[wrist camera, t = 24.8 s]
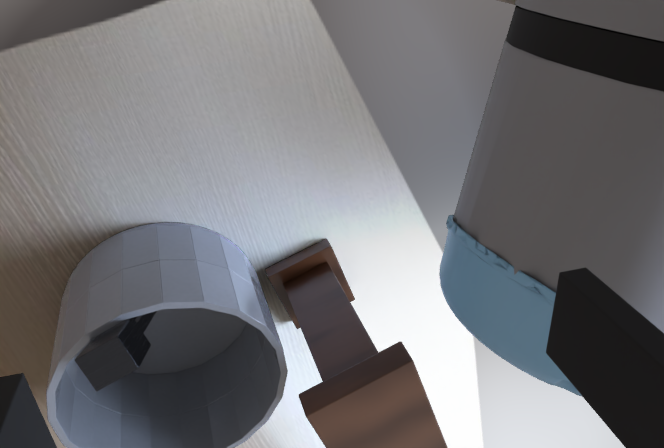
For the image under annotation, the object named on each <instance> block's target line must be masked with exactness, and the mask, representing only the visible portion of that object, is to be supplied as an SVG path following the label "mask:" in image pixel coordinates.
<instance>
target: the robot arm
mask: <svg viewBox="0 0 664 448" xmlns="http://www.w3.org/2000/svg"><path fill="white" fill-rule="evenodd" d="M515 5H517V6H516V7H515V11H514V15H513V18H512V21H511V24H510V28H509V31H508V34H507V38H506V40H505V42H504V46H503V49H502V53H501V56H500V60H499V63H498V66H497V70H496V74H495V77H494V80H493V84H492V87H491V90H490V94H489V97H488V101H487V104H486V107H485V111H484V114H483V118H482V121H481V125H480V128H479V132H478V135H477V139H476V142H475V145H474V149H473V152H472V156H471V159H470V162H469V166H468V169H467V173H466V176H465V180H464V183H463V186H462V190H461V193H460V197H459V200H458V204H457V207H456V210H455V214H454V215H449V217H448V220H447V223H446V224H447V228H448V235H447V240H446V244H445V248H444V253H443V257H442V261H441V265H440V284H441V288H442V291H443V295H444V297H445V299H446V301H447V303H448V305H449V307H450V308H451V310H452V311H453V313H454V314H455V316H456V317H457V318H458V319H459V321H460V322H461V323H462V324H463V325H464V326H465V327H466V328H467V329H468V330H469V331H470V332H471V333H472V335H474V336H475V337H476V338H477V339H478V340H479V341H480V342H481V343H483V344H484V345H485V346H486V347H488V348H489V349H490V350H492V351H493V352H494V353H496V354H497V355H498V356H500V357H501V358H503V359H504V360H506V361H507V362H509V363H510V364H512V365H514V366H515V367H517V368H519V369H520V370H522V371H524V372H526V373H528V374H530V375H531V376H533V377H536V378H537V379H539V380H541V381H544V382H546V383H548V384H551V385H555V386H558V387H561V388H564V389H566V390H568V391H570V392H572V393H575V394H576V395H579V396H582V397H584V399H585V400H586V401H587V402H588V403H589V405H590V406H591V407H592V408H593V409H594V410H595V412H596V413H597V414H598V415H599V416H600V418H601V419H602V420H603V421H604V422H605V423H606V424H607V426H608V427H609V428H610V429H611V431H612V432H613V433H614V434H615V435H616V437H617V438H618V439H619V440H620V441H621V442H622V444H623V445H624V446H625V447H626V448H664V0H516V2H515ZM0 448H57V447H56V445H55V443H54V440H53V438H52V436H51V434H50V432H49V429H48V427H47V425H46V423H45V420H44V418H43V416H42V414H41V412H40V409H39V407H38V405H37V403H36V401H35V398H34V396H33V394H32V392H31V389H30V387H29V385H28V383H27V381H26V378H25V376H24V374H23V373H21V374H15V375H10V376H5V377H0Z"/></svg>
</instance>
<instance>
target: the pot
mask: <svg viewBox="0 0 664 448" xmlns="http://www.w3.org/2000/svg"><path fill="white" fill-rule="evenodd" d="M155 311H157V312H156V314H155V315H154V317H153V318H152V320H151V322H150V323H149V325H148V327H147V328H146V330H145V332H144V335H145V336H146V338H147V339H148V341H149V342H150V344H151V346H150V348H149V350H148V352H147V354H146V356H145V357H144V359H143V361H142V363H141V365H140V367H139V368H138V369H136V370H134V371H133V372H131V373H129V374H127V375H125V376H124V377H122V378H120V379H118V380H117V381H115V382H113V383H111V384H109V385H108V386H106V387H104V388H102V389H100V390H99V391H96V390H95V389H94V387H93V386H92V385H91V383H90V382H89V380H88V379H87V377H86V376H85V375H84V373H83V372H82V370H81V369H80V367H79V366H78V365H77V363H76V362H75V359H76V358H77V356H78V355H79V354H80V353H81V352H82V351H83V349H84V348H85V347H86V346H87V345H88V343H89V342H90V341H91V340H92V339H93V338H94V337H96V336H98V335H99V334H101V333H103V332H105V331H106V330H108V329H110V328H112V327H113V326H115V325H117V324H119V323H120V322H122V321H124V320H126V319H130V318H133V317H137V316H141V315H144V314H148V313H151V312H155ZM287 372H288V371H287V366H286V361H285V357H284V352H283V347H282V345H281V342H280V339H279V336H278V333H277V330H276V327H275V325H274V322H273V319H272V316H271V313H270V310H269V307H268V305H267V302H266V299H265V296H264V293H263V290H262V287H261V285H260V282H259V279H258V276H257V273H256V271H255V269H254V268H253V266H252V264H251V262H250V260H249V259H248V258H247V256H246V255H245V254H244V252H243V251H242V250H241V249H240V248H239V247H238V246H237V245H235V244H234V243H233V242H232V241H230V240H229V239H228V238H226V237H224V236H222V235H220V234H219V233H217V232H214V231H212V230H209V229H207V228H203V227H200V226H196V225H191V224H184V223H154V224H148V225H143V226H138V227H135V228H132V229H128V230H125V231H123V232H121V233H118V234H116V235H114V236H112V237H110V238H108V239H107V240H105V241H103V242H101V243H100V244H99V245H97V246H96V247H95V248H93V249H92V250H91V251H90V252H89V253H88V254H87V255H86V256H85V257H84V258H83V259H82V260H81V261H80V262H79V264H78V265H77V266H76V268H75V269H74V270H73V272H72V274H71V276H70V278H69V280H68V282H67V285H66V288H65V292H64V294H63V297H62V301H61V307H60V313H59V319H58V324H57V330H56V336H55V342H54V348H53V354H52V360H51V366H50V372H49V378H48V384H47V389H46V399H47V418H48V421H49V423H50V425H51V426H52V428H53V430H54V431H55V433H56V435H57V436H58V438H59V440H60V441H61V443H62V444H63V445H64V446H65V447H67V448H235V447H237V446H238V445H240V444H242V443H243V442H245V441H246V440H248V439H249V438H250V437H251V436H252V435H253V434H254V433H255V432H256V431H257V430H258V429H259V428H260V427H261V426H263V425H264V424H265V423H266V422H267V421H268V419H269V418H270V416H271V415H272V413H273V411H274V410H275V408H276V406H277V405H278V403H279V402H280V400H281V398H282V396H283V391H284V387H285V382H286V377H287Z"/></svg>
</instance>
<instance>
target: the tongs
mask: <svg viewBox="0 0 664 448" xmlns="http://www.w3.org/2000/svg"><path fill="white" fill-rule="evenodd" d="M156 312H157V311H155V312H151V313H148V314H144V315H141V316H137V317H133V318H130V319H126V320H124V321H122V322H120V323H119V324H117V325H115V326H113V327H112V328H110V329H108V330H106V331H105V332H103V333H101V334H99V335H98V336H96V337H94V338H93V339H92V340H91V341H90V342H89V343H88V345H87V346H86V347H85V348H84V349H83V351H82V352H81V353H80V354H79V355H78V356H77V358H76V359H75V362H76V363H77V365H78V366H79V367H80V369H81V370H82V372H83V373H84V375H85V376H86V377H87V379H88V380H89V382H90V383H91V385H92V386H93V387H94V389H95V390H96V391H99V390H100V389H102V388H104V387H106V386H108V385H109V384H111V383H113V382H115V381H117V380H118V379H120V378H122V377H124V376H125V375H127V374H129V373H131V372H133V371H134V370H136V369H138V368H139V367H140V365H141V363H142V361H143V359H144V357H145V356H146V354H147V352H148V350H149V348H150V346H151V344H150V342H149V341H148V339H147V338H146V336H145V335H144V332H145V330H146V328H147V327H148V325H149V323H150V322H151V320H152V318H153V317H154V315H155V314H156Z"/></svg>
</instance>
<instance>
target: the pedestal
mask: <svg viewBox="0 0 664 448" xmlns="http://www.w3.org/2000/svg"><path fill="white" fill-rule="evenodd" d="M265 271H266V274H267V277H268V279H269V280H270V282H271V284H272V286H273V288H274V289H275V291H276V293H277V295H278V296H279V298H280V300H281V302H282V303H283V305H284V307H285V309H286V311H287V312H288V314H289V316H290V318H291V319H292V321H293V323H294V325H295V326H296V328H297V329H299V328H301V329H302V332H303V334H304V337H305V339H306V342H307V344H308V346H309V349H310V351H311V354H312V356H313V359H314V361H315V364H316V366H317V368H318V371H319V373H320V376H321V378H322V381H323V382H321V383H320V384H318V385H316V386H314V387H312V388H310V389H308V390H306V391H304V392H302V393H300V394H299V398H300V401H301V404H302V406H303V409H304V412H305V415H306V417H307V419H308V420H309V422H310V423H311V425H312V427H313V428H314V430H315V431H316V433H317V434H318V436H319V437H320V439H321V440H322V442H323V444H324V445H325V447H326V448H447V445H446V443H445V440H444V438H443V435H442V433H441V430H440V428H439V425H438V423H437V420H436V418H435V415H434V413H433V410H432V407H431V405H430V402H429V400H428V397H427V395H426V392H425V390H424V387H423V385H422V382H421V380H420V377H419V375H418V372H417V370H416V367H415V365H414V362H413V360H412V358H411V357H410V355H409V353H408V352H407V350H406V349H405V347H404V345H403V344H402V342H398V343H396V344H394V345H392V346H390V347H389V348H387V349H385V350H383V351H381V352H379V353H378V351H377V349H376V347H375V346H374V344H373V342H372V340H371V339H370V337H369V335H368V333H367V331H366V330H365V328H364V326H363V324H362V323H361V321H360V319H359V317H358V315H357V314H356V312H355V310H354V308H353V306H352V305H351V303H350V302H351V301H353V300H355V298H354V296H353V294H352V291H351V289H350V287H349V285H348V283H347V280H346V278H345V276H344V274H343V271H342V269H341V267H340V265H339V262H338V260H337V258H336V256H335V254H334V251H333V249H332V247H331V245H330V243H329V242H328V240H327V239H324V240H322V241H320V242H318V243H316V244H314V245H312V246H310V247H308V248H306V249H304V250H302V251H300V252H298V253H296V254H294V255H292V256H290V257H288V258H286V259H284V260H282V261H280V262H278V263H276V264H274V265H272V266H270V267H268V268H266V269H265Z"/></svg>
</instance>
